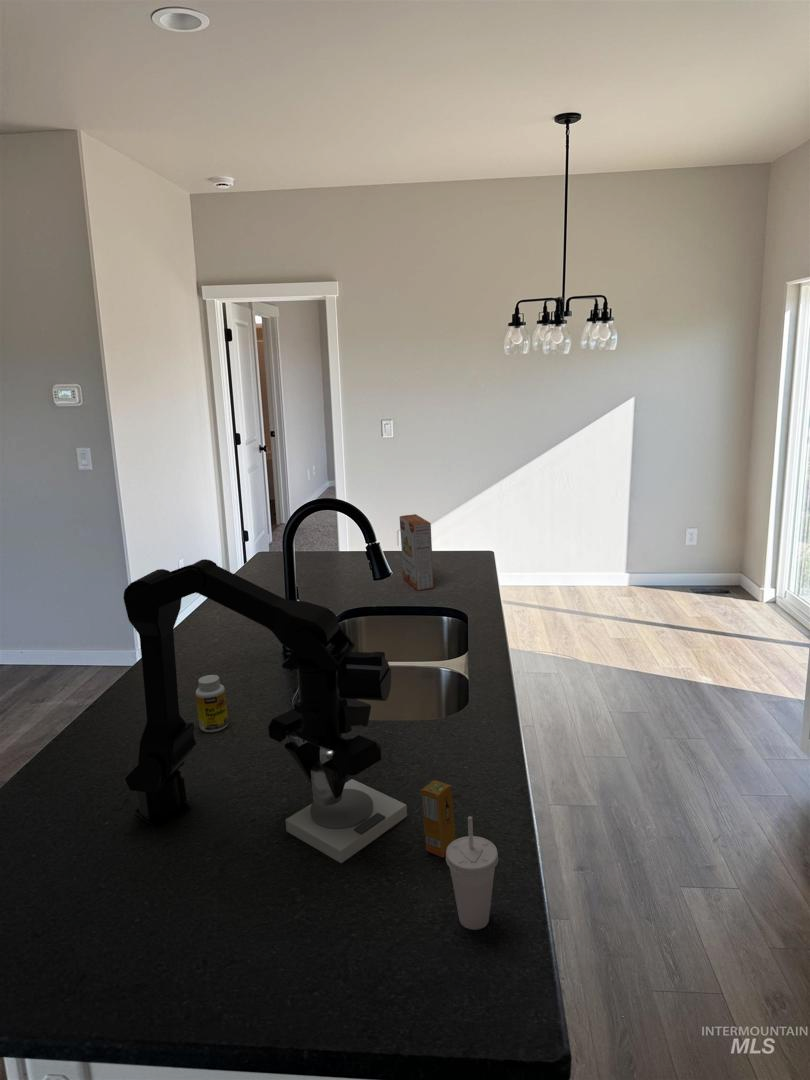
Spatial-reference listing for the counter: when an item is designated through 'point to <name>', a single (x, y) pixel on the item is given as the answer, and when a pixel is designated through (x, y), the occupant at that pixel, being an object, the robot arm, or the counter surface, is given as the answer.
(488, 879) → the smoothie
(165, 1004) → the counter surface
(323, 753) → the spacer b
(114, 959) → the counter surface
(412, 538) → the cracker box
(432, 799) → the supplement box
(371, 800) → the scale
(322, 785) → the spacer
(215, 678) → the supplement bottle
